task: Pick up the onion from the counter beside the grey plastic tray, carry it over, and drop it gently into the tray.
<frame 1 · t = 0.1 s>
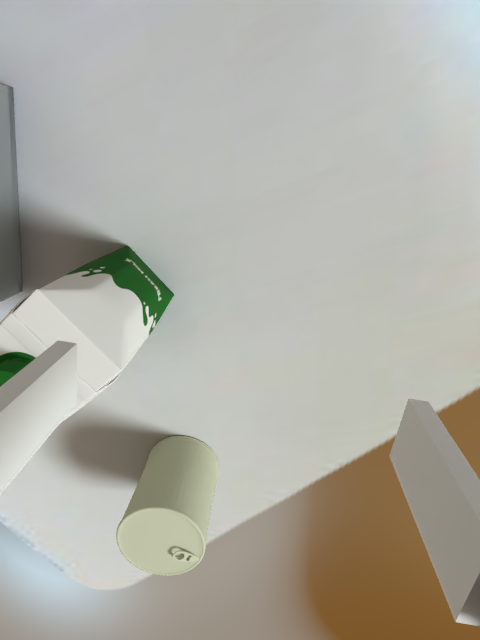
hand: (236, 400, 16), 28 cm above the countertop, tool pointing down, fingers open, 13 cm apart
can: (184, 464, 53), on the countertop
milk carton: (130, 290, 45), on the countertop
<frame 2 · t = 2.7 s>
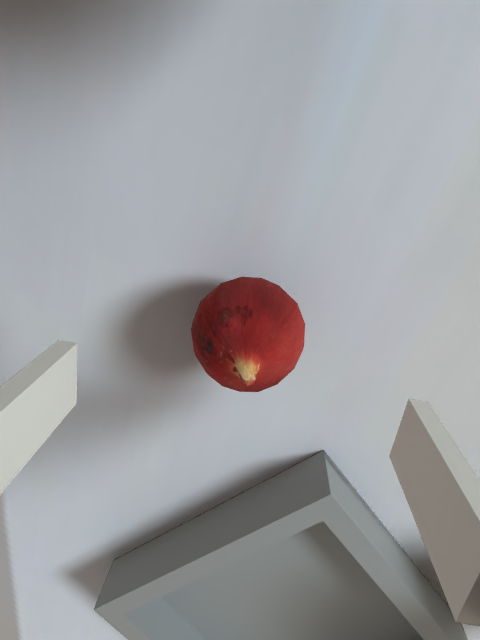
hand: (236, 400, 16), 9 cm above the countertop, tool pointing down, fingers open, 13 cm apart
onion: (252, 308, 25), on the countertop
tray: (285, 590, 33), on the countertop
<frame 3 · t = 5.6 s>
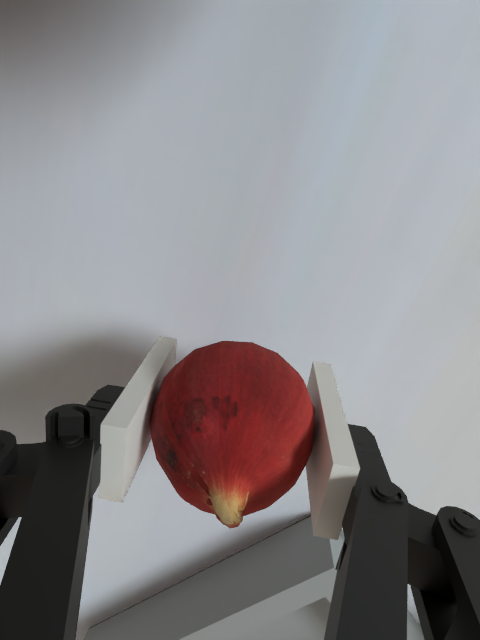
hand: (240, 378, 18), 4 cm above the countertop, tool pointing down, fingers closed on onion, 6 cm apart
onion: (240, 372, 19), point 3 cm above the countertop, touching gripper
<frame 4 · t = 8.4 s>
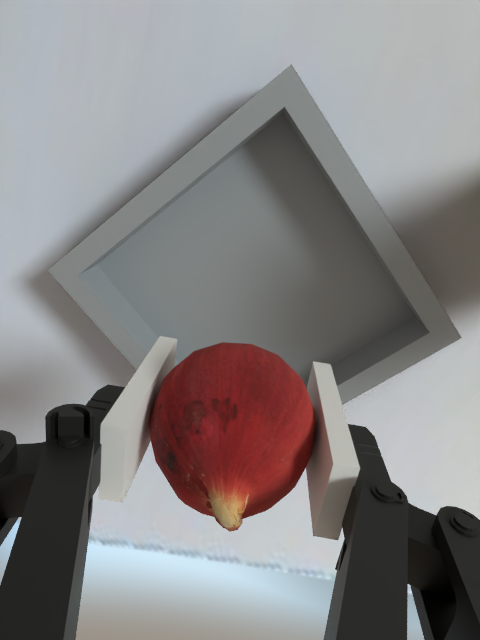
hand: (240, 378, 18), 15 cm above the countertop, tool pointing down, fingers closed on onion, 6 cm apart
onion: (240, 373, 19), point 14 cm above the countertop, touching gripper
tray: (254, 287, 32), on the countertop
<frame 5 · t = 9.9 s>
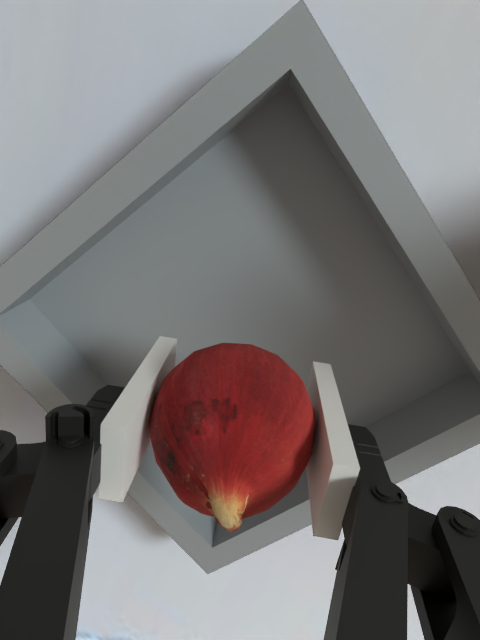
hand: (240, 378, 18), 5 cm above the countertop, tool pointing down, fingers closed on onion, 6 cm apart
onion: (240, 373, 19), point 5 cm above the countertop, touching gripper
tray: (247, 329, 23), on the countertop
when the fingers open (2 cm above the countertop, at t = 11.3 s): onion drops 1 cm, resting on tray.
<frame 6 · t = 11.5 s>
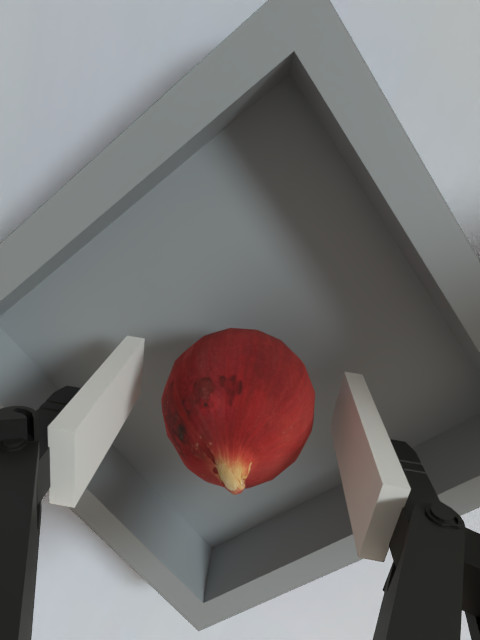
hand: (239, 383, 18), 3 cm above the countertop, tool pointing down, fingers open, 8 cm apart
onion: (246, 360, 20), point 1 cm above the countertop, touching tray
tray: (243, 355, 20), on the countertop
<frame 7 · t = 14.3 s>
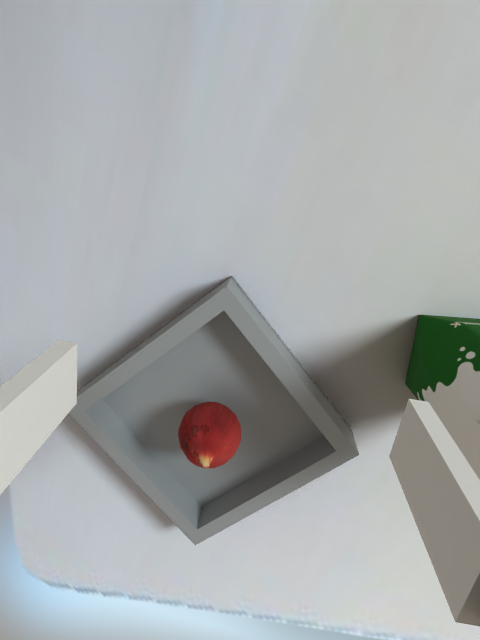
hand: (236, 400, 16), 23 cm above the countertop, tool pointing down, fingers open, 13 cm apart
onion: (215, 411, 42), point 1 cm above the countertop, touching tray
tray: (214, 408, 43), on the countertop
milk carton: (448, 351, 39), on the countertop
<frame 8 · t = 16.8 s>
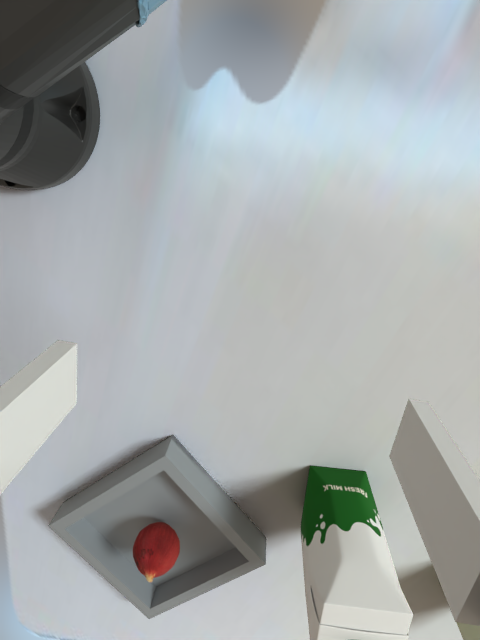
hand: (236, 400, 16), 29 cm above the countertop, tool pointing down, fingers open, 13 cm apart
can: (472, 572, 56), on the countertop
onion: (164, 523, 56), point 1 cm above the countertop, touching tray
tray: (164, 520, 57), on the countertop
milk carton: (333, 488, 53), on the countertop
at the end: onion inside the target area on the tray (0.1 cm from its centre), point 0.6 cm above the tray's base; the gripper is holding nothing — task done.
